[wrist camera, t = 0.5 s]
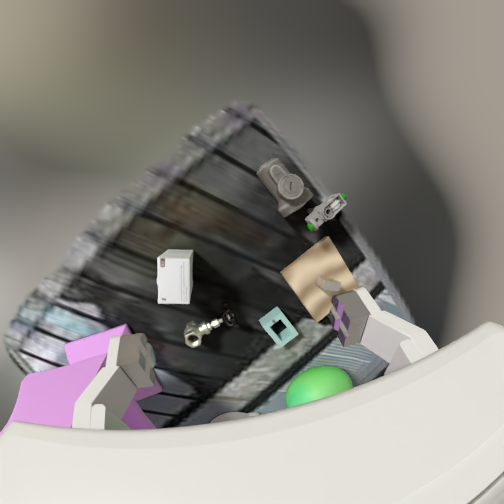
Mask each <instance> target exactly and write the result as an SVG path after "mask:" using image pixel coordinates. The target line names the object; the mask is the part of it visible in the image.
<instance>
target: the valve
mask: <svg viewBox="0 0 504 504" xmlns="http://www.w3.org/2000/svg"><path fill="white" fill-rule="evenodd" d="M223 307H226V310H225V311H224V312H223V313H222V315H221V318H220V319H217V318H216V319H213V320H211V323H209V322H207V323H206V322H205V321H204V322H201V325H200V324H198V323H197V322H195V321H192V322H190V323H188V324H186V328H185V330H184V337H185V343H186V344H187V345H189V346H190V347H193V348H194V347H196V346H198V345H200V344H201V339H202V336H203V335H204V334H206V335H208V334H210V333H211V331H210V330H212V328H213V327H214V328H217V327H219V326H220V323H222V322H224V324H225V323H226V324H227V325H228V326H234V328H235V329H237V328H239V324H238V323H237V322H236V321H237V320H236V318H235V317H234V315H233V312H232V310H231V309H230V308H229V305H228V303H227V302H225V303H223ZM229 321H230V322H231V323H232V324H229Z"/></svg>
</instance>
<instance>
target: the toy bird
mask: <svg viewBox="0 0 504 504" xmlns="http://www.w3.org/2000/svg"><path fill="white" fill-rule="evenodd" d="M351 388H353V384H352V381H351V379H350V377H349V376H348V374H347V373H346V372H345V371H343V370H342V369H340V368H337V367H334V366H319V367H314V368H311V369H309V370H307V371H305V372H303V373H301V374H300V375H298V376H297V377H296V378H295V379H294V380H293V381H292V382H291V384H290V385H289V387H288V389H287V392H286V406H287V408H290V407H293V406H297V405H301V404H304V403H308V402H311V401H315V400H318V399H321V398H324V397H328V396H331V395H334V394H337V393H340V392H343V391H346V390H348V389H351Z"/></svg>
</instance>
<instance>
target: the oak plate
mask: <svg viewBox="0 0 504 504" xmlns="http://www.w3.org/2000/svg"><path fill="white" fill-rule="evenodd" d="M280 273H281V274H282V276H283V277H284V278H285V280H286V281H287V283H288V284H289V285H290V287H291V288H292V289H293V291H294V292H295V294H296V295H297V296H298V298H299V299H300V301H301V302H302V303H303V305H304V306H305V308H306V309H307V310H308V312H309V313H310V315H311V316H312V317H313V319H314V320H315V321H316V322H319V321H320V320H321V319H322V318H324V317H325V316H326V315H327V314H328V313H330V308H331V307H332V306H333V304H332V303H331V299H332V296H333V295H336V294H340V293H344V292H347V291H351V290H355V289H357V288H359V286H358V285H357V283H356V281H355V279H354V278H353V276H352V274H351V273H350V271H349V269H348V267H347V266H346V264H345V262H344V261H343V259H342V257H341V256H340V254H339V252H338V251H337V249H336V247H335V246H334V244H333V243H332V241H331V239H330V238H329V236H325V237H324V238H323V239H321V240H320V241H319V242H318V243H316V244H315V245H314V246H313V247H311V248H310V249H309V250H308V251H306V252H305V253H304V254H303V255H301V256H300V257H299V258H298V259H296V260H295V261H294V262H293V263H291V264H290V265H289V266H287V267H286V268H285V269H284V270H282V271H281V272H280ZM317 276H320V277H329V278H333V279H335V280H337V281H339V282H341V285H340V290H339V291H331V290H323V289H322V288H320V287H318V286H317V285H315V282H316V277H317Z"/></svg>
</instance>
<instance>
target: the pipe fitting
mask: <svg viewBox="0 0 504 504" xmlns="http://www.w3.org/2000/svg"><path fill="white" fill-rule="evenodd" d="M257 176H258V177H259V179H260V180H261V181H262V182H263V184H264V185H265V186H266V187H267V189H268V190H269V191H270V192H271V194H272V195H273V196H274V197H275V199H276V200H277V201H278V210H279V212H280V213H281V215H282V216H283V217H287V216H288V215H290V214H291V213H293V212H294V211H296V210H298V209H300V208H301V207H302V206H303V205H304V204H305V203H306V202H307V201H308V200H310V199H311V198H312V197H313V194H312V192H311V191H310V190H309V189H308V188H306V187H304V184H303V181H302V180H301V178H300V177H298V176H297V175H294V174H290V172H289V171H288V170H287V168H286V167H285V166H284V165H283V163H282V162H281V161H280V160H279V159H278V158H272V159H270V160H269V161H267V162H266V163H264V164H263V165H262V166H261V167H260V168H259V169H258V171H257Z"/></svg>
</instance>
